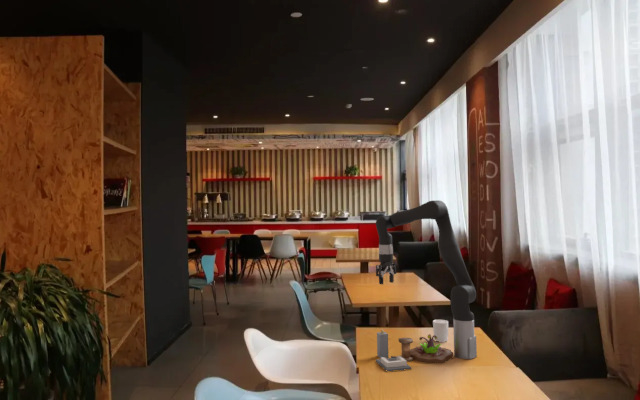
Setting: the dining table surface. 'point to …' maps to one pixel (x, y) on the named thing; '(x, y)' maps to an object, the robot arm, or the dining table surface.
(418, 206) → the robot arm
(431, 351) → the plant
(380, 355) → the gray block with knob
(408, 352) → the bobbin
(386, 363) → the grey u-shaped stand base
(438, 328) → the white cup
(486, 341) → the dining table surface
